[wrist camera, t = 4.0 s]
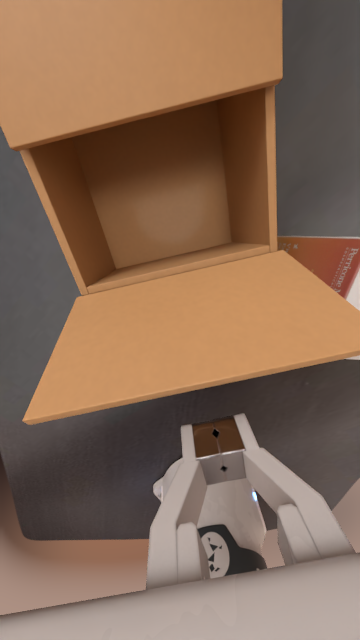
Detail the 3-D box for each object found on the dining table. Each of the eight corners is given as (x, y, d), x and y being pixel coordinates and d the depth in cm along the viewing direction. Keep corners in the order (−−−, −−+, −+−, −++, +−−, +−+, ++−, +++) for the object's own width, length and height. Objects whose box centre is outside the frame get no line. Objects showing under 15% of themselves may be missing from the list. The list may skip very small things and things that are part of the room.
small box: (274, 234, 20) (374, 232, 10) (325, 241, 21) (464, 244, 11) (255, 308, 23) (317, 359, 13) (299, 312, 24) (390, 364, 14)
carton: (235, 246, 20) (284, 252, 12) (114, 274, 21) (76, 299, 12) (214, 33, 14) (283, -263, 6) (46, 78, 15) (-119, -137, 6)
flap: (283, 249, 12) (282, 255, 12) (76, 297, 12) (80, 301, 12) (399, 341, 6) (392, 348, 7) (21, 421, 7) (29, 425, 7)
